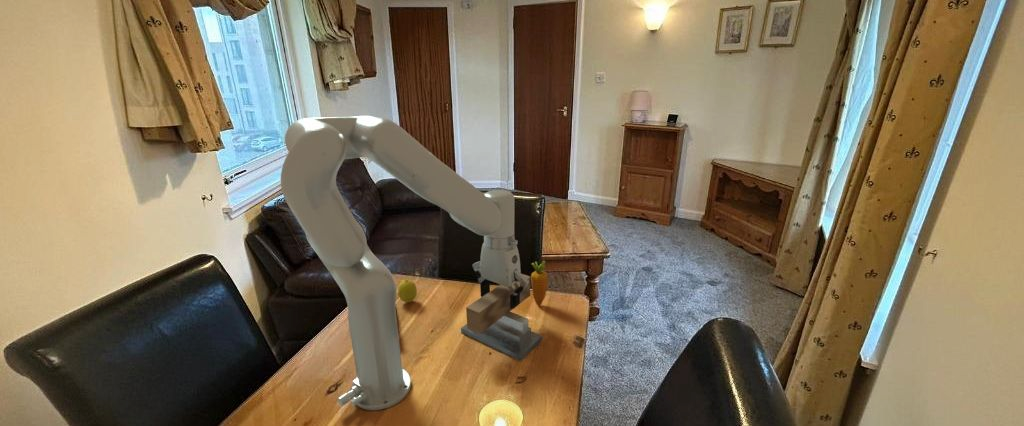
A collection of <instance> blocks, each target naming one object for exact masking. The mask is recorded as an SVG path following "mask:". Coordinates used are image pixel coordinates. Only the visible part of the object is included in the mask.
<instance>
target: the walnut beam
mask: <svg viewBox="0 0 1024 426" xmlns="http://www.w3.org/2000/svg"><path fill="white" fill-rule="evenodd" d="M521 274H522V275H523V276H524V277H525V278H526V279H528V281H529V283H528V285H527V287H526V289H524V290H523V291H521V292H520V303H519V305H521V304H522V302H523V303H524V301H525V300H526V299H528V298H529V297H530V296H531V275H527V274H523V273H521ZM518 283H519V285H521V283H520V282H519V281H518ZM513 287H514V288H515V290H516V287H515V286H514V284H513ZM511 294H512V293H511V291H510V290H509V288H508V287H506V286H503V285H500V284H498V286H496V287H495V288H494V289H491V290H490V292H489V293H487V294H486V295H484V296H483V297H481V296H480V297H479V298H478V299H477V300H475V301H474V302H472V303H471V304H469V305H467V306H466V308H465V309H466V310H465V311H466V324H467V329H469V330H471V331H474V332H476V333H478V334H481V333H482V332H483V331H485V330H486V329H487V328H489V327H490V326H491V325H493V324H494V323H495V322H496V321H498V320H499V319H500V318H502V317H503V316H504V315H506V314H507V313H508V312H512V310H513V309H511V308H510V295H511Z"/></svg>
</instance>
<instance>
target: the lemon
mask: <svg viewBox="0 0 1024 426" xmlns="http://www.w3.org/2000/svg"><path fill="white" fill-rule="evenodd" d="M397 292H398V293H397V294H398V298H399V299H400V300H401V301H402V302H404V303H408V304H410V303H411V302H412V301H414V300H415V299H416V296H417V294H418V290H417V286H416V283H415V282H414V281H413V280H410V279H404V280H402V281H401V282H400V283H399V284H398V288H397Z"/></svg>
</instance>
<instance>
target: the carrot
mask: <svg viewBox="0 0 1024 426" xmlns="http://www.w3.org/2000/svg"><path fill="white" fill-rule="evenodd" d="M545 264H546V261H545V260H542V262H541V263H540V264H539V265H538V262H537V261H534V262H532V263H531V266H532V267H533V269H534V271H533V272H532V273H531V275H530V277H531V278H530V285H531V291H532V296H533V298H534V302H535V304H536V305H537V306H538V307H539V306H541V305H542V304H543V301H544V300H545V298H546V294H547V290H548V274H547V272H546V271H544V268H545Z"/></svg>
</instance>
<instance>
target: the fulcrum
mask: <svg viewBox="0 0 1024 426" xmlns="http://www.w3.org/2000/svg"><path fill="white" fill-rule="evenodd" d="M460 333H461V334H463V335H465V336H467V337H469V338H471V339H473V340H476V341H477V342H480V343H482V344H484V345H485V346H488V347H490V348H493V349H495V350H497V351H498V352H501V353H503V354H505V355H507V356H509V357H512V358H514V359H516V360H518V361H520V362H522V361H523V360H524V359H525V358H526V357H527V356H528V355H529V354H530V353H532V351H534V349H535V348H536V347H537V346H538V345H540V343H542V342H543V335H542V334H539V333H537V332H534V331H532V327H529V318H527V317H525V316H522V315H520V314H517V313H515V312H514V311H513V312H512V311H510V312H508V313H507V314H506V315H504V316H503V317H502V318H500V319H499V320H498V321H496V322H495V323H494V324H493V325H491V326H490V327H489V328H487V329H486V330H485V331H483V332H482V333H481V334H478V333H476V332H474V331H471V330H469V329H467V323H466V324H465V325H464V326H462V327H460Z"/></svg>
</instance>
